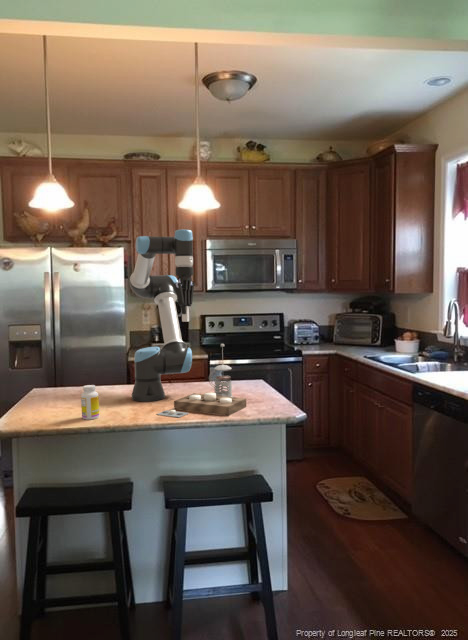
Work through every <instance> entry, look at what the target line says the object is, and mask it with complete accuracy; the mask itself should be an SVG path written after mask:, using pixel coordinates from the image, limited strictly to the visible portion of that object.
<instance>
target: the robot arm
mask: <svg viewBox="0 0 468 640" xmlns="http://www.w3.org/2000/svg"><path fill="white" fill-rule="evenodd" d="M193 239H194V237H193V231H192V230H191V229H177V230H175V231H174V235H173V236H149V235H143V236H142V235H141V236H137V237H136V240H135V250H136V253H137V259H136V262H135V266H134V269H133V270H134V271H133V272H132V273H131V275H130V277H129V281H128V282H129V286H130V289H131V290H132V292H133V293H134V294H135V296H138V297H140V298H143V299H153V301H154V304H156V305H157V306H158V312H159V314H158V315H159V319H160V324H161V330H162V337H163V342H164V344H163V346H162V348H160V346H147V347H142V348H139V349H138V350H136V351H135V353H134V357H133V358H134V360H133V362H134V379H135V382H134V384H133V389H132V393H131V400H132V401H135V402H155V401H156V402H157V401H161V400H163V399H165V398H166V393H165V389H164V387H163V384H162V381H161V380H162V379H161V376H162V375H174V374H184V373H188V372H190V370H191V368H192V364H193V352H192V349H191V348H190V347H187V343H186V342H185V341H183V339H182V332H181V328H180V322H179V321H180V320H179V317H178V312H177V306H176V301H177V304H178V306H179V307H181V322H183V323H184V322H190V307H192V305H193V298H194V288H195V285H196V283H195V282H193V281H192V276H194V267H193V265H194V257H193V256H194V252H193V251H194V249H193V248H194V246H193V245H194V242H193V241H194V240H193ZM166 254H167V255H174V259H175V263H174V264H175V266H176V267H175V276H174V275H172V274H171V275H169V274H163V275H161V274H160V275H159V274H158V275H157V274H156V275H152V274H151V272H152V269H153V265H154V262H155V259H156V256H157V255H166ZM176 276H177V277H176Z"/></svg>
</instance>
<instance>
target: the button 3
mask: <svg viewBox="0 0 468 640" xmlns="http://www.w3.org/2000/svg"><path fill="white" fill-rule="evenodd" d="M231 402H232V398H221V399H220V403H228V404H229V403H231Z"/></svg>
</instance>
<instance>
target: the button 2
mask: <svg viewBox="0 0 468 640" xmlns="http://www.w3.org/2000/svg"><path fill="white" fill-rule="evenodd" d="M203 394H204V401H209V402H214V401H216V393H215V392H206V393H203Z"/></svg>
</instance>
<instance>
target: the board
mask: <svg viewBox="0 0 468 640" xmlns="http://www.w3.org/2000/svg"><path fill="white" fill-rule="evenodd" d="M204 394H205V393H195V392H194V393H191V394H188V395H185V396H183V397H181V398H178V399H175V400H173V410H177V411H178V410H179V411H186V412H193V413H201V414H202V413H203V414H211V415H220V416H228V417H230V416H232V415H233V414H235V413H237V412H239V411H241V410H243V409H245V408H247V398H246V397H245V398H244V397H236V396H233V397H227V396H216V401H214V402H209V401H204ZM190 395H201V399H199V400H190V399H189V396H190ZM221 398H232V402H231V403H229V404H228V403H220V399H221Z"/></svg>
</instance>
